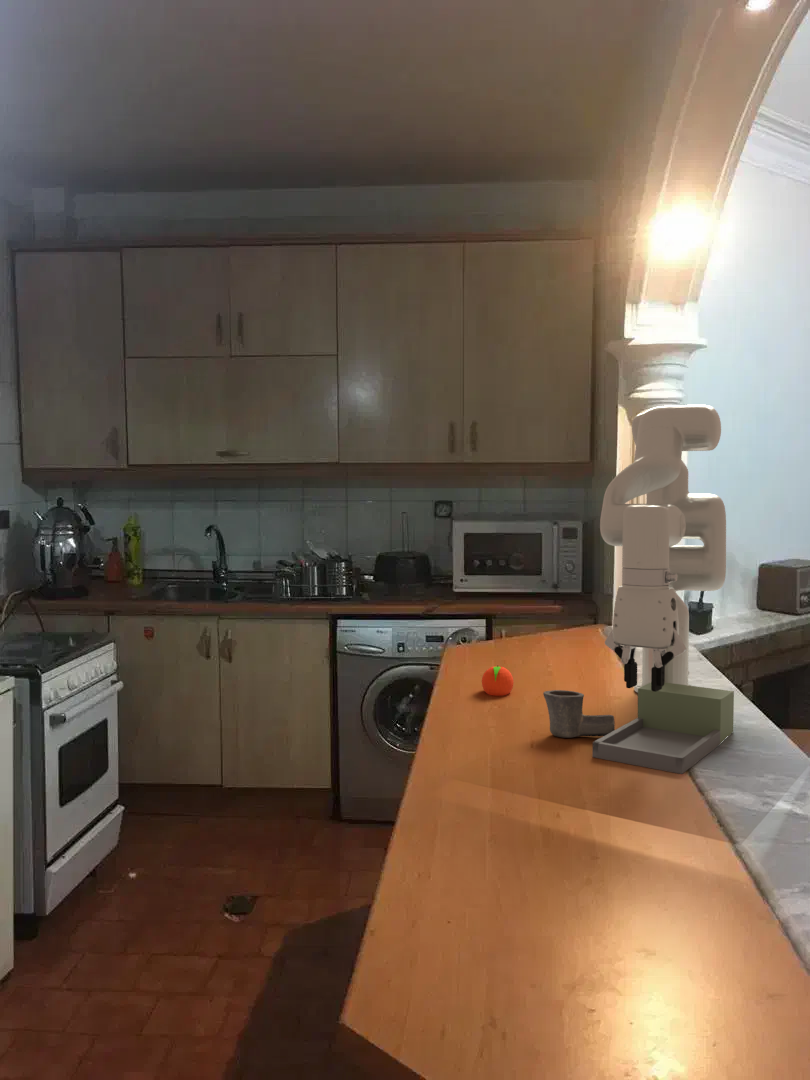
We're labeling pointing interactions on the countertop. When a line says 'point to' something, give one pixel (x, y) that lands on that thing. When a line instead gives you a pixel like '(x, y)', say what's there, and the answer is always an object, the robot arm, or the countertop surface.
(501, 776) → the countertop surface
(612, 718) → the pipe
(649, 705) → the gray tray
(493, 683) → the clementine
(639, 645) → the robot arm
